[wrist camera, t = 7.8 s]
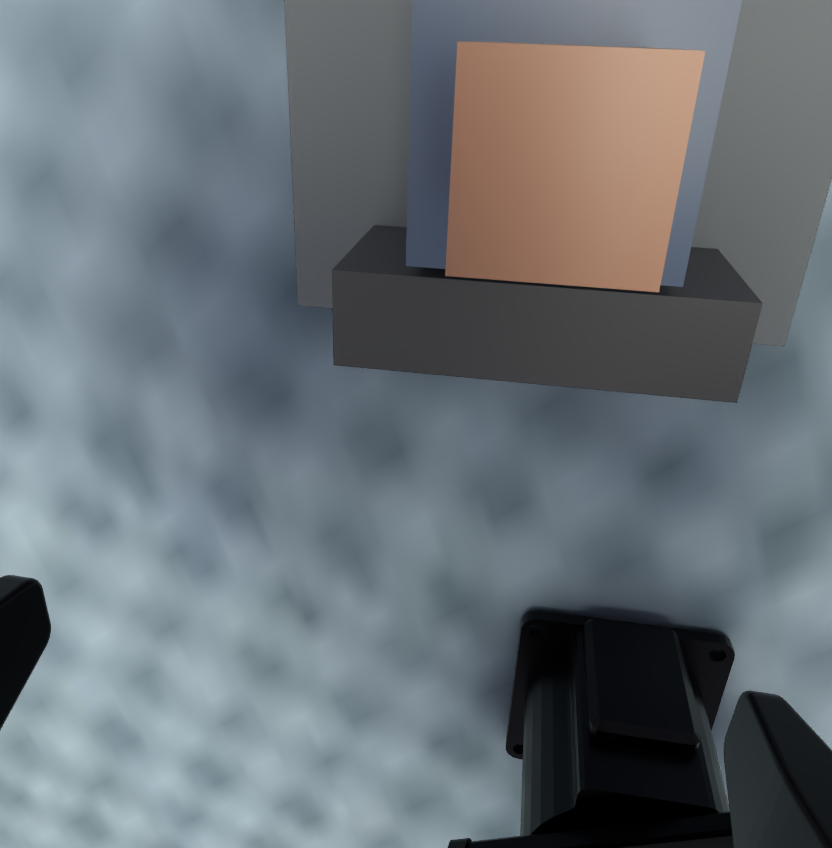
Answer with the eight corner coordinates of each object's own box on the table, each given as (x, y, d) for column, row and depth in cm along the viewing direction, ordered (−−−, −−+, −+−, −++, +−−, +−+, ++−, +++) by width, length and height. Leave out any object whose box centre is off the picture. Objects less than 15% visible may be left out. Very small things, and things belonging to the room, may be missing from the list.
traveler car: (660, 246, 16) (745, 399, 9) (428, 229, 16) (344, 362, 10) (711, -28, 13) (878, -100, 7) (439, -35, 14) (337, -106, 7)
